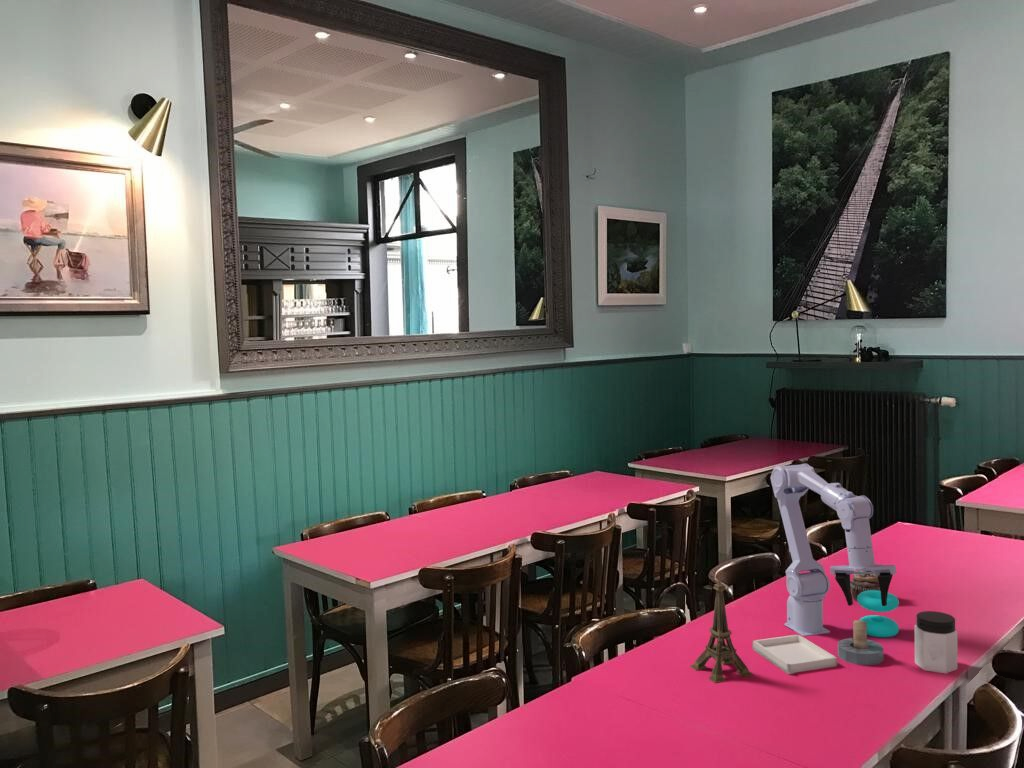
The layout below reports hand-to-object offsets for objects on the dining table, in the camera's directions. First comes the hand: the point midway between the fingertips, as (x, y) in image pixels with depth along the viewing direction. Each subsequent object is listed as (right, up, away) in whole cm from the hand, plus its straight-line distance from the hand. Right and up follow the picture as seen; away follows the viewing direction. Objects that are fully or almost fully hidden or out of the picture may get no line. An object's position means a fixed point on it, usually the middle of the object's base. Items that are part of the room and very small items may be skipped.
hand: (867, 605), depth 198 cm
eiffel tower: (-35, -16, -1) cm, 38 cm away
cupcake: (+19, -11, +46) cm, 51 cm away
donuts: (+11, -13, +20) cm, 26 cm away
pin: (0, -14, +4) cm, 14 cm away
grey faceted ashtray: (0, -14, +4) cm, 14 cm away
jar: (+15, -14, -3) cm, 21 cm away
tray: (-16, -14, +5) cm, 22 cm away
